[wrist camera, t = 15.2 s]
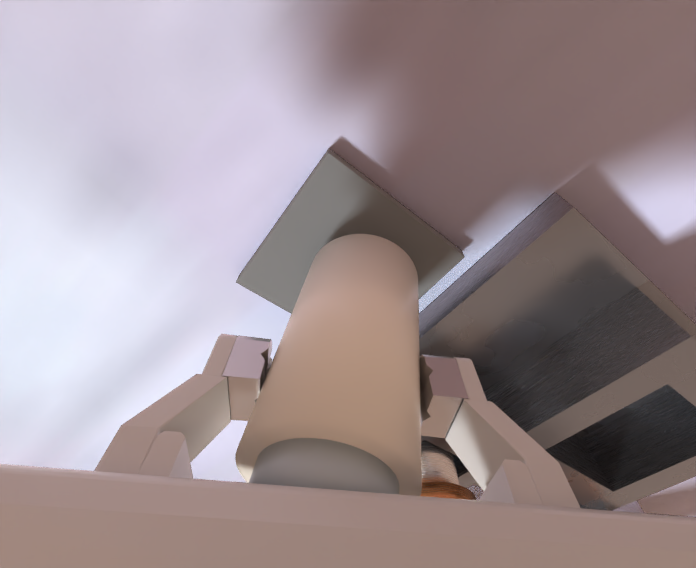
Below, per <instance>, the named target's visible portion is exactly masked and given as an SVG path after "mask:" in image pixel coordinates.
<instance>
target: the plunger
mask: <svg viewBox="0 0 696 568" xmlns="http://www.w3.org/2000/svg"><path fill="white" fill-rule="evenodd" d="M421 467H422V491H421V495H420V496H426V497H439V498H453V499H466V500H476V498H475V495H474V494H473V493H472V492H471V491H470V490H469V489H467V488H465V487H463V486H461V485H460V484H459V479H458V475H457V471H456V467H455V462H454V458H453V454H452V453H450V452H448V451H446V450H444V449H442V448H440V447H438V446H436V445H434V444H432V443H430V442H428V441H426V440H424V441H422V442H421Z"/></svg>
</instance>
